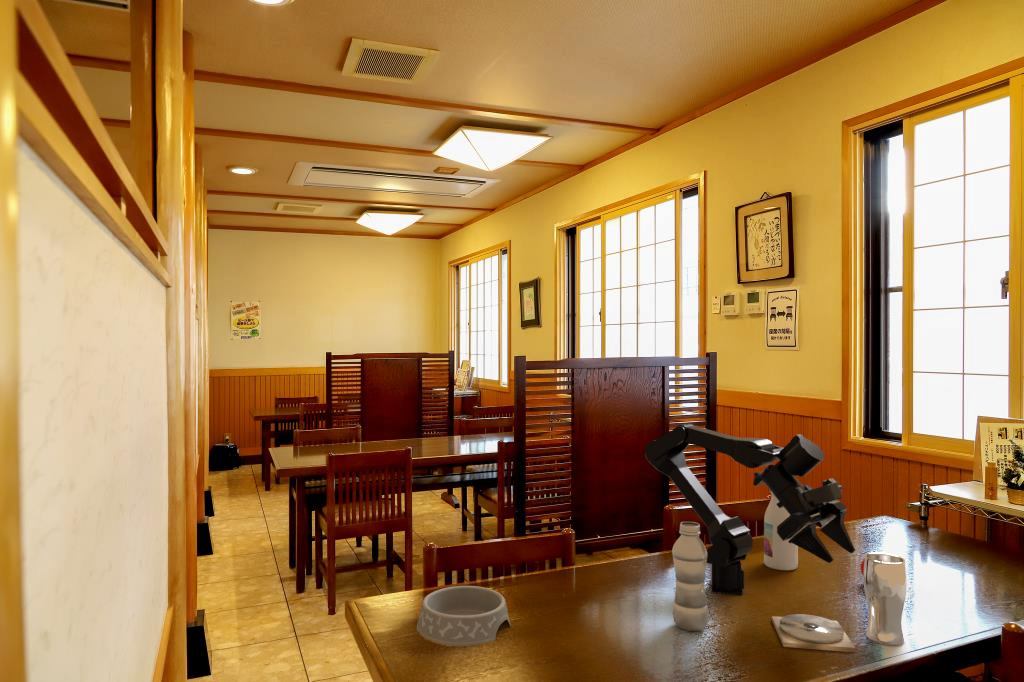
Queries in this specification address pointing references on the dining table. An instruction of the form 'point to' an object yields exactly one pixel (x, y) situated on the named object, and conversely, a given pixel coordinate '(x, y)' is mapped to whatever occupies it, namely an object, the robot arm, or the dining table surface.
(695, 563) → the plastic bottle
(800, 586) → the dining table surface
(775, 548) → the milk bottle
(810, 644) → the base plate
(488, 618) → the dog bowl
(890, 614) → the beer glass
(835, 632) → the flange
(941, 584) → the dining table surface
